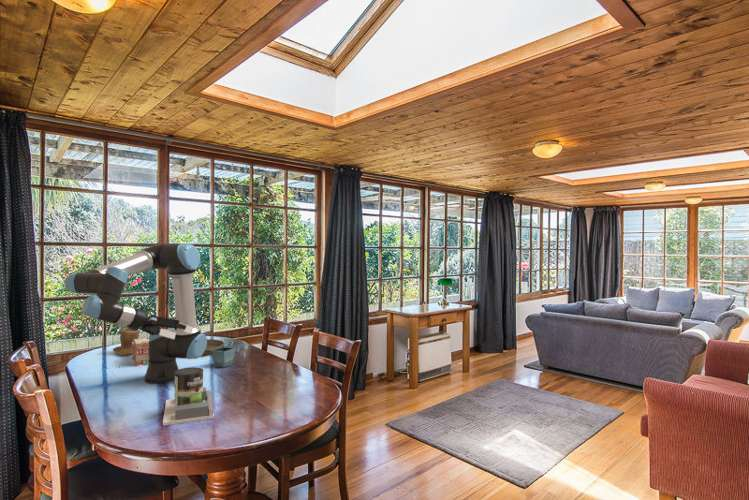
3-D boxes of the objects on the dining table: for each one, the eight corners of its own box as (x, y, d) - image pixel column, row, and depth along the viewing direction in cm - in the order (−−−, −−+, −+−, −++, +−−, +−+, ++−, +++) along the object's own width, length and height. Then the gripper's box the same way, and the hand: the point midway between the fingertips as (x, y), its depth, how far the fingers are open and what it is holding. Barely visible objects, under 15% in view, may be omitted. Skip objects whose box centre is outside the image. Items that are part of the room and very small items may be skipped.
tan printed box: (131, 358, 244) (131, 336, 244) (144, 356, 248) (144, 335, 248) (135, 366, 226) (135, 343, 226) (149, 365, 230) (149, 341, 230)
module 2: (176, 403, 171) (176, 394, 171) (176, 399, 175) (177, 390, 175) (206, 399, 175) (206, 391, 175) (206, 395, 180) (206, 387, 180)
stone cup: (141, 354, 252) (141, 328, 252) (118, 357, 244) (118, 331, 244) (134, 349, 263) (134, 325, 263) (112, 352, 255) (112, 327, 255)
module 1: (175, 420, 154) (175, 410, 154) (175, 415, 159) (175, 405, 159) (208, 415, 159) (208, 406, 159) (207, 410, 163) (207, 401, 163)
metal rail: (209, 416, 158) (209, 410, 158) (206, 395, 180) (206, 390, 180) (213, 415, 159) (213, 409, 159) (210, 394, 181) (210, 390, 181)
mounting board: (162, 425, 152) (162, 422, 152) (166, 402, 175) (166, 399, 175) (214, 418, 159) (214, 415, 159) (211, 396, 182) (211, 394, 182)
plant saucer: (167, 360, 239) (167, 352, 239) (169, 348, 267) (169, 341, 267) (226, 355, 252) (226, 347, 252) (222, 344, 280) (222, 337, 280)
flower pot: (210, 367, 226) (210, 350, 226) (222, 363, 234) (222, 346, 234) (224, 369, 223) (224, 351, 223) (235, 364, 231) (235, 348, 231)
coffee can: (208, 405, 169) (209, 369, 169) (185, 414, 160) (185, 376, 160) (192, 400, 174) (192, 365, 174) (168, 408, 165) (168, 371, 165)
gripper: (112, 332, 167) (165, 346, 180) (142, 321, 152) (197, 337, 166) (119, 314, 170) (170, 329, 184) (149, 301, 156) (202, 319, 170)
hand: (183, 333), depth 175 cm, fingers open, 13 cm apart
